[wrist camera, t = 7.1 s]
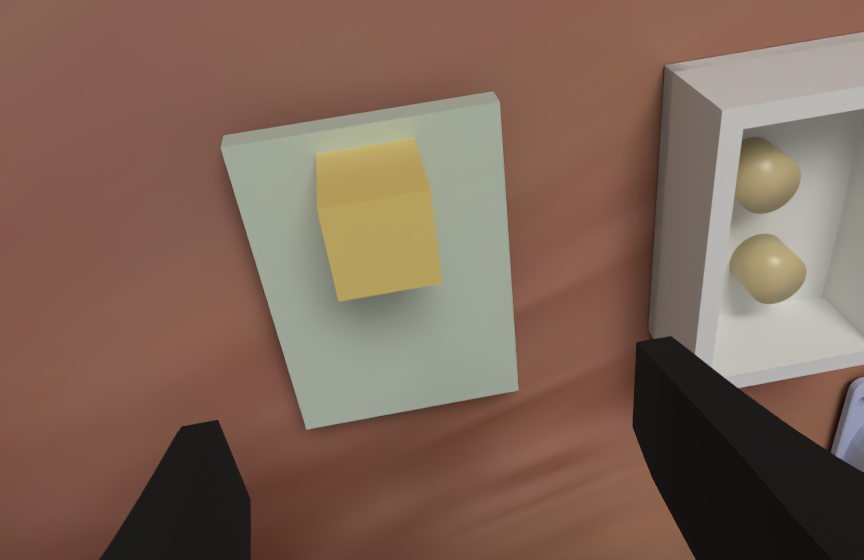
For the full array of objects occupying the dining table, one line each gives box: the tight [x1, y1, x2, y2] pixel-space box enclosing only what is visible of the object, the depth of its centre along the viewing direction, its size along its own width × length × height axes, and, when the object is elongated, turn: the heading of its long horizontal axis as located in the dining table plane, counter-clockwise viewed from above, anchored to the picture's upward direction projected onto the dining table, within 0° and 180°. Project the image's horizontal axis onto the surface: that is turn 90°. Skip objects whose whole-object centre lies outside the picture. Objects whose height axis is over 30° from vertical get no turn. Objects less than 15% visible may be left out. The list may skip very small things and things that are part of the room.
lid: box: [221, 92, 518, 429], centre depth 21 cm, size 10×7×5 cm
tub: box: [648, 32, 864, 388], centre depth 22 cm, size 10×7×4 cm
